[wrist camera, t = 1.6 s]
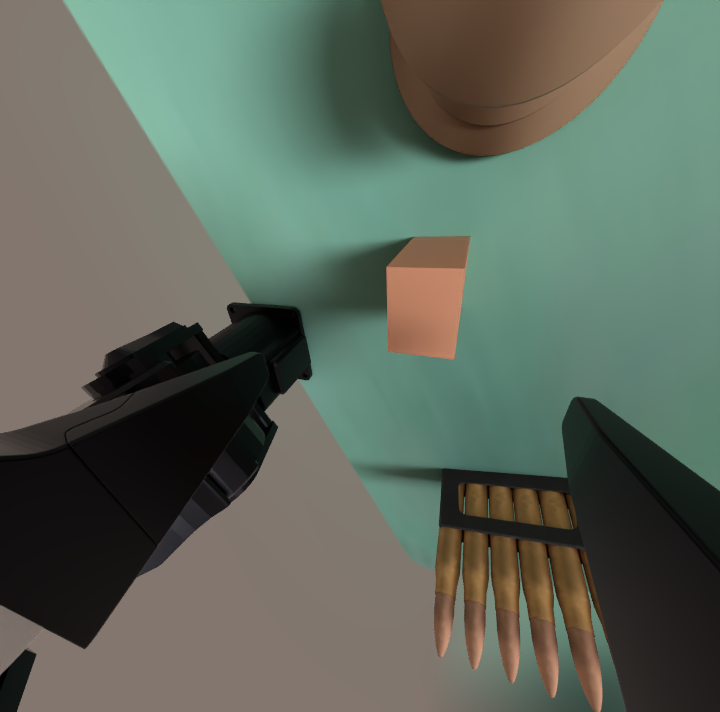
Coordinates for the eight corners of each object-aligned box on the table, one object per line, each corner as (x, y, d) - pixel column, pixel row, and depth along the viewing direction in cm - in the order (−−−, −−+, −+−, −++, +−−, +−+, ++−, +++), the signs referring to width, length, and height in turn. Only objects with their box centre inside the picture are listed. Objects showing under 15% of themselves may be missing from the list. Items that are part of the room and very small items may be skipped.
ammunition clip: (592, 479, 21) (682, 736, 12) (590, 495, 22) (674, 748, 12) (442, 468, 26) (420, 644, 16) (445, 481, 26) (426, 657, 17)
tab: (412, 303, 18) (388, 351, 14) (413, 237, 16) (386, 266, 12) (461, 306, 17) (454, 359, 13) (470, 236, 15) (465, 268, 11)
